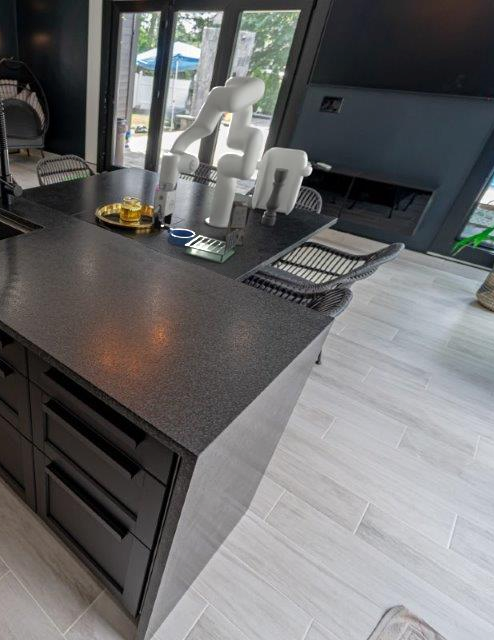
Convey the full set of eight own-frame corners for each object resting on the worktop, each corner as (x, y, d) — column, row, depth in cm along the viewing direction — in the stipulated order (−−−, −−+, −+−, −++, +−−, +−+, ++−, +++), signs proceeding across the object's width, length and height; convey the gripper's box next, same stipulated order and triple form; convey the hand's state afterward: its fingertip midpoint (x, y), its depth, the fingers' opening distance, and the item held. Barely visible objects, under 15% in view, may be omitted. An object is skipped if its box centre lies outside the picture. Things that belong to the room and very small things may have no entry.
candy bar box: (153, 218, 199) (156, 184, 190) (163, 219, 199) (167, 184, 189) (151, 225, 190) (154, 190, 181) (161, 226, 190) (165, 190, 180)
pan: (156, 230, 186) (157, 220, 183) (197, 240, 176) (199, 230, 173) (145, 236, 178) (146, 226, 176) (187, 247, 169) (188, 236, 166)
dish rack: (198, 243, 173) (202, 219, 167) (234, 252, 166) (239, 227, 160) (183, 253, 164) (187, 228, 158) (221, 263, 156) (227, 237, 150)
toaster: (300, 211, 215) (319, 150, 198) (296, 217, 207) (315, 154, 190) (248, 202, 226) (262, 144, 209) (243, 207, 219) (257, 147, 201)
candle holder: (274, 222, 199) (289, 169, 184) (273, 226, 194) (289, 171, 180) (261, 220, 201) (275, 167, 186) (260, 224, 196) (274, 170, 182)
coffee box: (242, 245, 173) (251, 207, 163) (226, 243, 173) (235, 206, 164) (239, 237, 180) (248, 201, 171) (224, 236, 181) (232, 200, 172)
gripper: (166, 191, 159) (160, 233, 169) (184, 184, 171) (178, 223, 181) (149, 188, 163) (144, 229, 172) (169, 181, 175) (163, 220, 184)
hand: (162, 226), depth 177 cm, fingers open, 9 cm apart
